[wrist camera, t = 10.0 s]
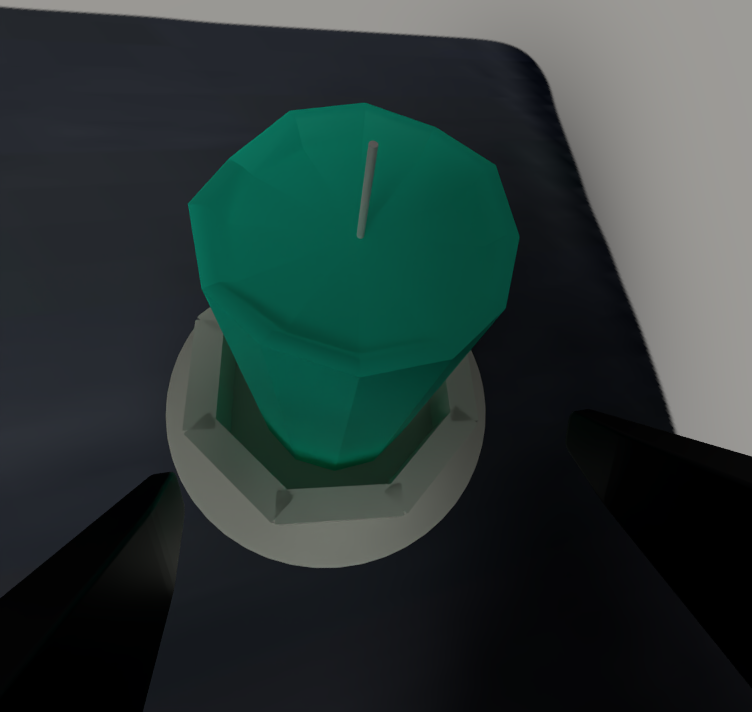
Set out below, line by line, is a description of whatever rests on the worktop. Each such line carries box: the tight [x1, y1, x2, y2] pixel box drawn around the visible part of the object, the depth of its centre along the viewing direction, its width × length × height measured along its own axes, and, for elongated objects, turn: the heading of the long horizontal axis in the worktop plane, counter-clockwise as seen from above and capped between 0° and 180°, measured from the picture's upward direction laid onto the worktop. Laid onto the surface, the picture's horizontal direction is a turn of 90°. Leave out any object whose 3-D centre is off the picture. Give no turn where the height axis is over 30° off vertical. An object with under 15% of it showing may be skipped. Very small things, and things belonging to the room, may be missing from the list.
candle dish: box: [166, 307, 486, 568], centre depth 16 cm, size 13×13×4 cm
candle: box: [188, 103, 520, 471], centre depth 11 cm, size 6×6×12 cm
